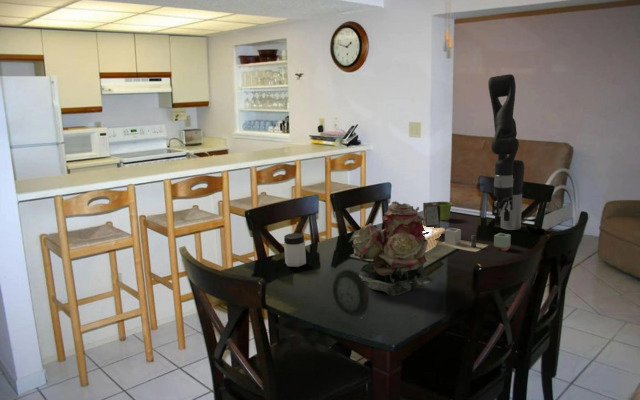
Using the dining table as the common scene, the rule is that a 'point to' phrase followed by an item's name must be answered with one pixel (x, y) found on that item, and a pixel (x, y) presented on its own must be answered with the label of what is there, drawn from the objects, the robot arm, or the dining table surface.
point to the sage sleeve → (502, 241)
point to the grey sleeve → (452, 236)
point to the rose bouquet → (394, 251)
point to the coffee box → (431, 214)
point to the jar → (294, 250)
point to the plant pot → (444, 210)
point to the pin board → (467, 245)
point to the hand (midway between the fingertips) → (502, 222)
